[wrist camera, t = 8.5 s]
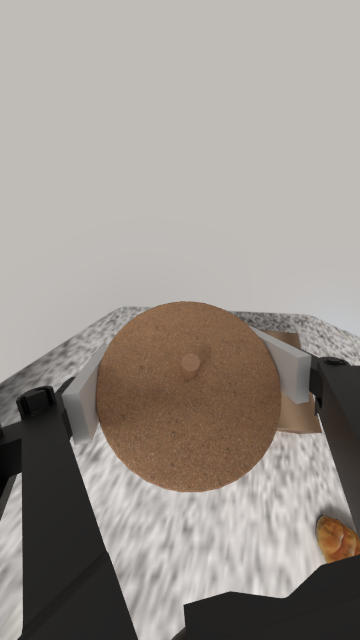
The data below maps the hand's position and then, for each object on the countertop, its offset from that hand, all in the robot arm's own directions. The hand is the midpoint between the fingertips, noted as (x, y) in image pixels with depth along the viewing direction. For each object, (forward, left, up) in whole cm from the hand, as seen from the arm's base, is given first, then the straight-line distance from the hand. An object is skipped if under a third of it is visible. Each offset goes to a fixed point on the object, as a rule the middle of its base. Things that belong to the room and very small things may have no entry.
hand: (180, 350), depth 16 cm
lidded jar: (+1, -3, -4) cm, 5 cm away
